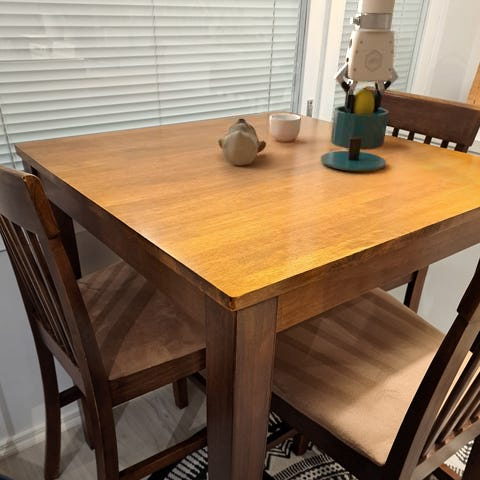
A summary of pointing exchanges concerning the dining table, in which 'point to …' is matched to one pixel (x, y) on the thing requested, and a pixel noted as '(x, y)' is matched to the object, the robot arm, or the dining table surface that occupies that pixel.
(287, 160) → the dining table surface
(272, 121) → the teacup
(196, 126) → the dining table surface
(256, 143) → the ceramic sculpture
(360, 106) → the lemon
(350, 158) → the lid
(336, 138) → the pot
